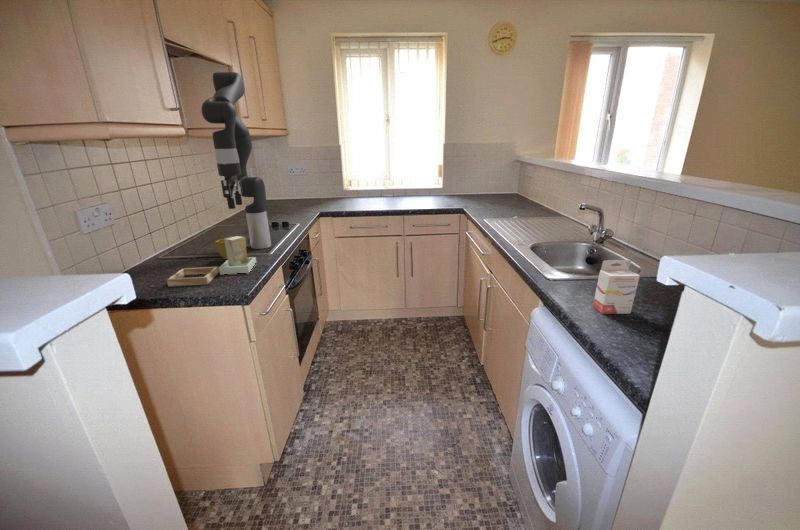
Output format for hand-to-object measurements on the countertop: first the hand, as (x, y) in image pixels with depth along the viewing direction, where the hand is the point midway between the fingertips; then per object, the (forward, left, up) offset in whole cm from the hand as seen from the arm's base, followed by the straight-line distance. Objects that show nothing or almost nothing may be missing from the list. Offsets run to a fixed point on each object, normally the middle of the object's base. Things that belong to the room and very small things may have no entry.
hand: (235, 206), depth 129 cm
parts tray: (0, -3, -25) cm, 25 cm away
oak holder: (+9, -16, -25) cm, 31 cm away
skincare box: (0, -3, -25) cm, 25 cm away
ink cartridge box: (+57, +116, -25) cm, 132 cm away
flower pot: (-14, -9, -25) cm, 30 cm away
